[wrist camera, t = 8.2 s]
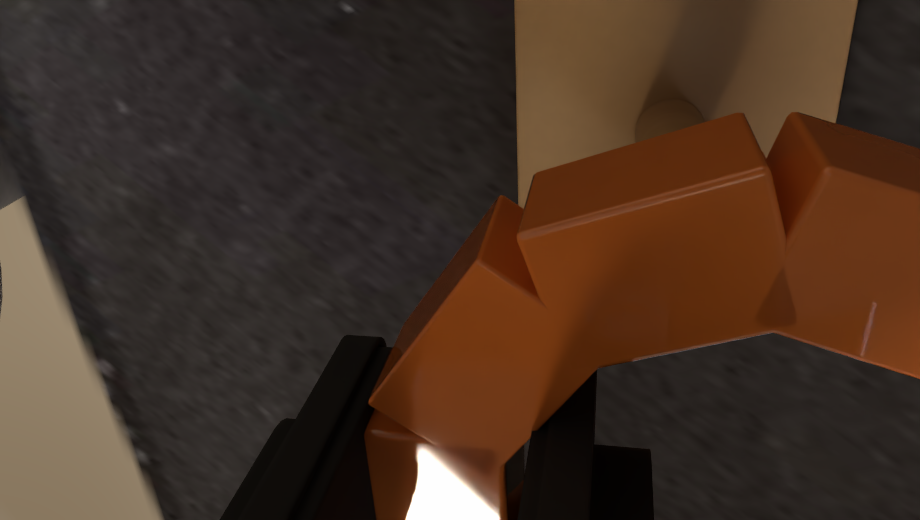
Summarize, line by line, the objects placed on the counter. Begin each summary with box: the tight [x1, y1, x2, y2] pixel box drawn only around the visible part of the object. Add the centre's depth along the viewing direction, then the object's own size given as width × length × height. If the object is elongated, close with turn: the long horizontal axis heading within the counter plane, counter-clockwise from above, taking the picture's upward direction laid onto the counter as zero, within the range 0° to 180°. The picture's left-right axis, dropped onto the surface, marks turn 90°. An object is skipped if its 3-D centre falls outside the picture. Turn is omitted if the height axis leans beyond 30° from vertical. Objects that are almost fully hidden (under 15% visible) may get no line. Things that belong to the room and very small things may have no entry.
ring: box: [364, 112, 920, 520], centre depth 10 cm, size 9×10×2 cm
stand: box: [514, 0, 858, 209], centre depth 19 cm, size 9×9×10 cm
